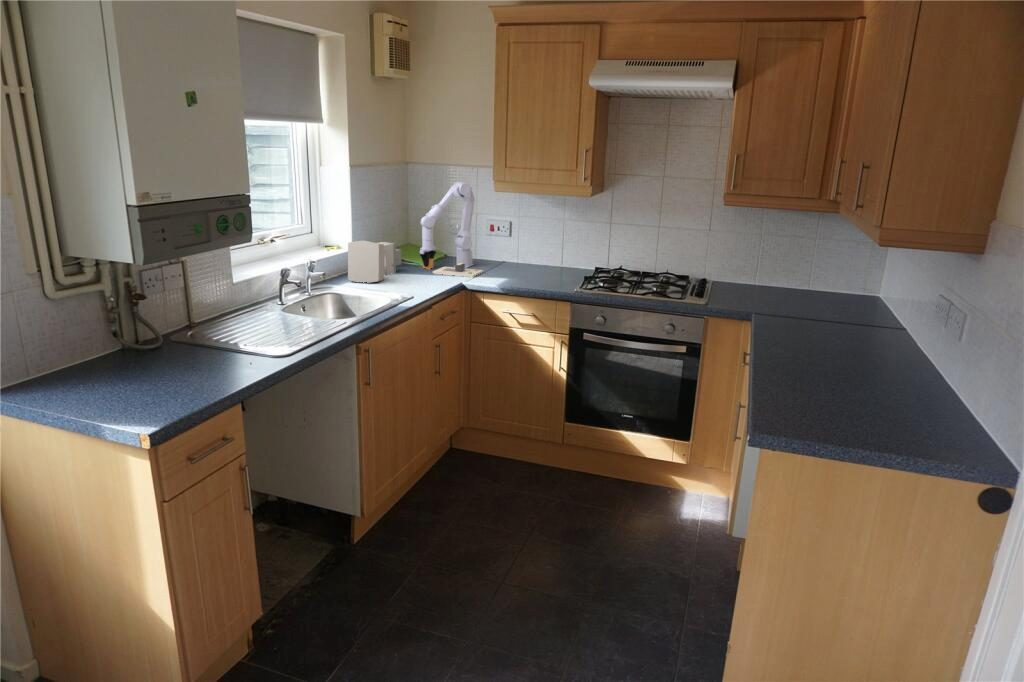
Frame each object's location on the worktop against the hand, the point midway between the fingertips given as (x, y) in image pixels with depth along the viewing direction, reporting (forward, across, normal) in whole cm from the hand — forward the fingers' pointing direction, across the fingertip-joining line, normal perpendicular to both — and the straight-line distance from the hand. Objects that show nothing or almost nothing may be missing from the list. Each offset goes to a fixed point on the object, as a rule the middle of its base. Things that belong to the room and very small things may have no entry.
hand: (428, 265), depth 356 cm
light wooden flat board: (+1, +4, +19) cm, 19 cm away
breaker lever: (0, +4, +20) cm, 20 cm away
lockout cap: (+1, 0, 0) cm, 1 cm away
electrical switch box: (+2, +38, -13) cm, 40 cm away
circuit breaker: (+2, +18, -13) cm, 22 cm away
